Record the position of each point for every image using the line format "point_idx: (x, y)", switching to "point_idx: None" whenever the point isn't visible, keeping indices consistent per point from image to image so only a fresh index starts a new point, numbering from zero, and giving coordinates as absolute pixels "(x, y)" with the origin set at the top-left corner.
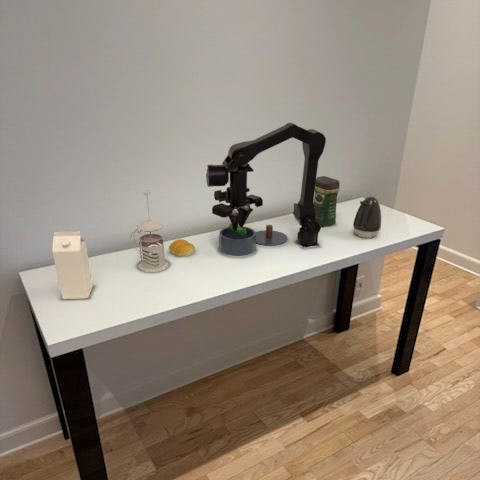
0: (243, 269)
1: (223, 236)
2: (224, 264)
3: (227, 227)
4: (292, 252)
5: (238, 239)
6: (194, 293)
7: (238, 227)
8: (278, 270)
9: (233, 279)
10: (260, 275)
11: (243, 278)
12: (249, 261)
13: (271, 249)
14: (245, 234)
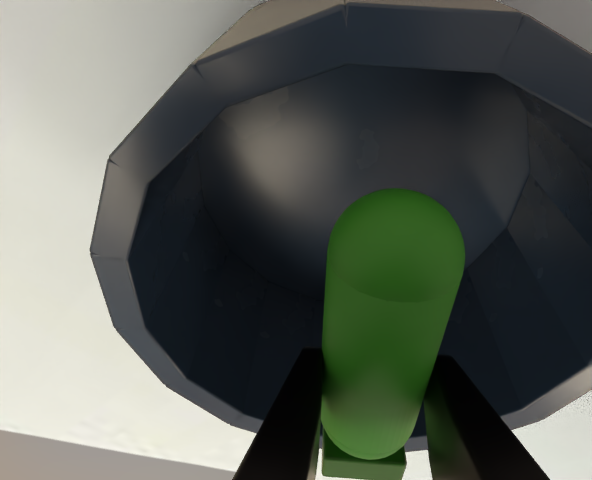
0: None
1: (115, 276)
2: (98, 280)
3: (466, 28)
4: (569, 425)
5: (224, 411)
6: None
7: (350, 430)
8: None
9: (63, 396)
10: (205, 439)
11: (115, 414)
12: None
13: None
14: (578, 214)
